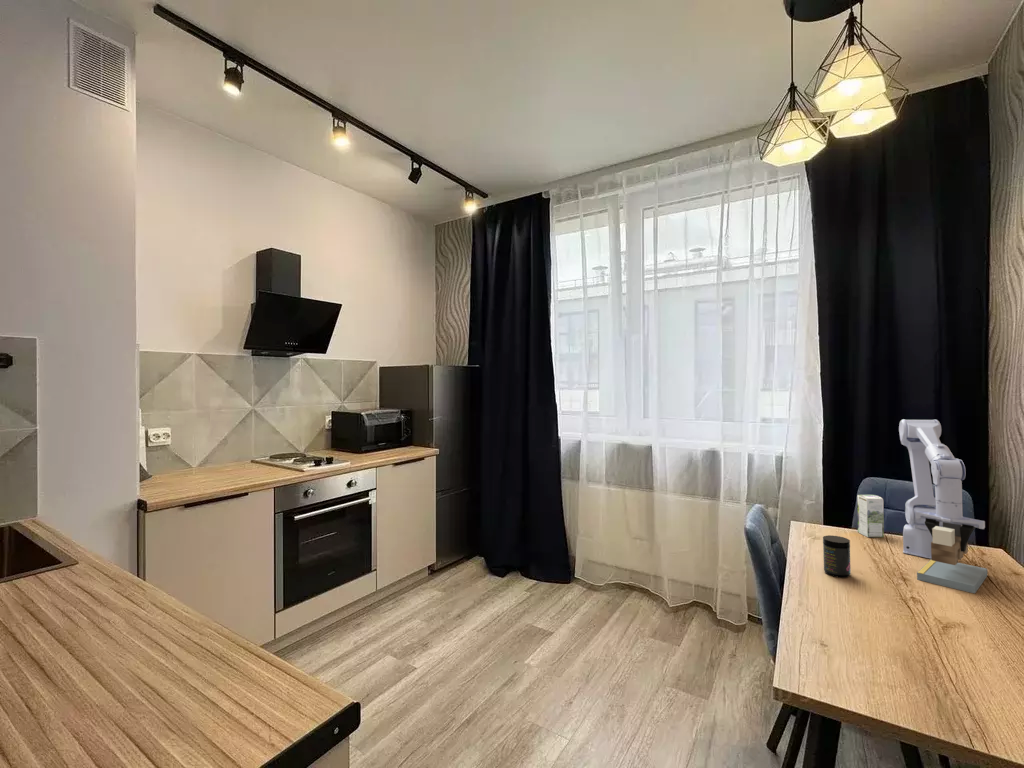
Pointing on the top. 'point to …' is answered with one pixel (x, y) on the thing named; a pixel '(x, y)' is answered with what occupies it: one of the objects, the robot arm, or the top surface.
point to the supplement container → (836, 556)
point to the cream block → (943, 536)
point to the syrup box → (870, 515)
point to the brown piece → (948, 552)
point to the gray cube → (953, 526)
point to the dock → (953, 575)
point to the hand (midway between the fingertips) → (949, 548)
